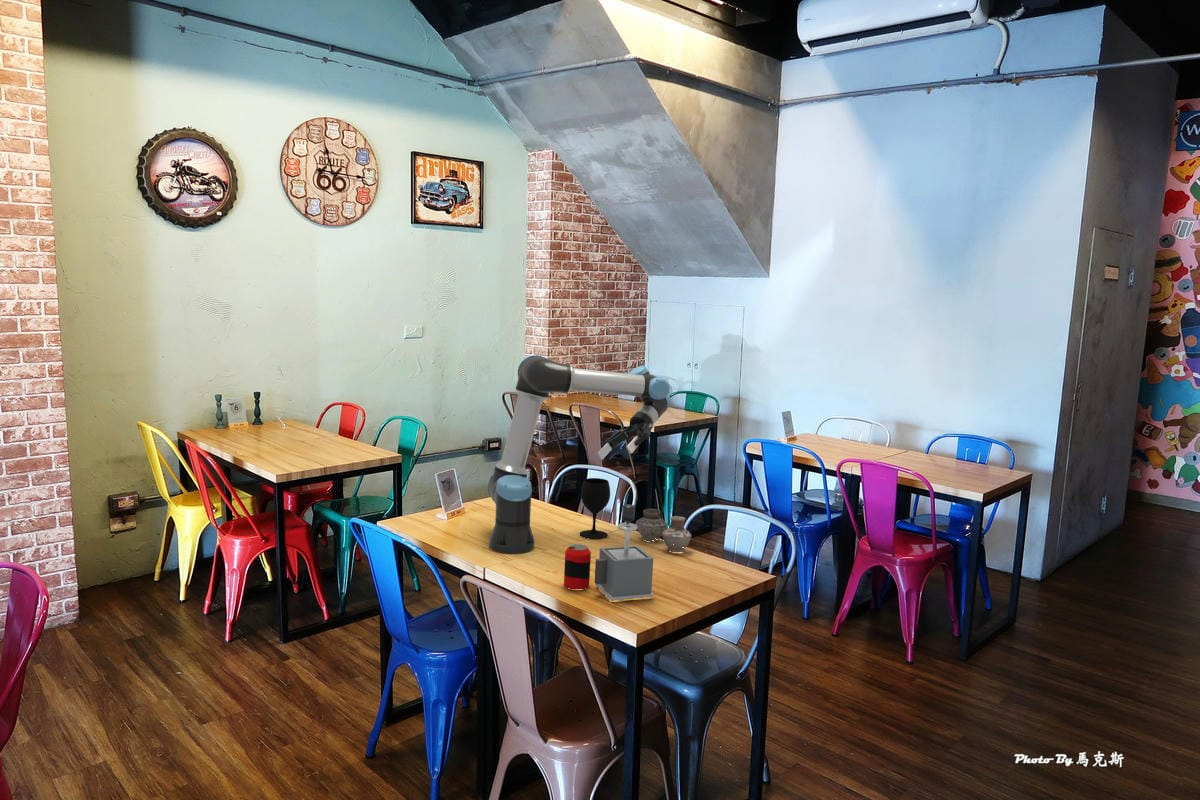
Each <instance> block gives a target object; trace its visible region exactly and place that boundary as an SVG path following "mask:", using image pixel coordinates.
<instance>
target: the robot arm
mask: <svg viewBox="0 0 1200 800" xmlns="http://www.w3.org/2000/svg"><path fill="white" fill-rule="evenodd" d="M517 377H518V379H517V382H516V386H515V392H516V394H517V400H516V403H515V407H514V411H513V415H512V419H511V423H510V427H509V430H508V434H507V438H506V442H505V444H504V450H503V454H502V455H501V456H502V457H501V461H499V462H498V463H496V464H495V466H494V470H493V473H492V474H491V476H490V477H489V480H488V482H487V483H488V484H487V491H488V495H489V497H490V498H491V500H492V501H493V502H494V504H495V519H494V520H495V521H494V527H493V529H492V532H491V535H490V538H489V549H490V550H492V551H494V552H496V553H497V552H498V553H503V554H509V555H510V554H513V555H514V554H515V555H516V554H525V553H528V552H531V551H532V550H534V549H535V538H534V534H533V530H532V527H531V512H532V511H531V509H532V508H531V506H532V493H533V488H532V482H531V481H530V479H528V474H529V472H528V470H527V468H526V463H527V462H528V461H527V460H528V456H529V453H530V449H531V446H532V443H533V442H532V441H533V438H534V433H535V430H536V427H537V422H538V418H539V415H540V411H541V408H542V404H543V402H544V401H545V400H547V399H548V398H549V394H550V393H561V394H562V393H563V394H569V393H570V392H571V391H573V392H574V391H575V392H584V393H598V394H607V395H619V396H620V395H621V396H630V397H639V399H640V401H641V403H642V406H640V407H639V409H637V411H636V412H635V414H633V415H632V417H630V420H629V425H628V426H627V427H626V428H624V427H621V428H620V429H619V430H618V431H617V432H615V433H614V434H613V435H611V436H609V438H607V439H605V440H604V441H603V442H602V445H603V447H602V448H601V449H600V450H599V451H598V452H597V455H598V457H599V458H600V460H602V461H603V460H604V459H605V457H607V455H608V454H609V453H610V452H612V450H613V448H614V447H615V446H617V445H619V444H620V443H623V441H625V440H626V441H627V440H630V439H631V438H633V439H632V440H631V441H630V442H629V443H628V444H627V446H626V449H627V451H628V453H629V454H633V453H634V451H635V450H637V448H638V447H639V446H640V444H641V443H642V442H645V440H647V441H649V439H650V438H651V432H652V429H653V428H654V427H653V426H654V425H655V424H656V423H657V421H658V420H659V419H660V417H662V415H663V414H664V413H665V412H666V411H667V410H668V408H669V407H670V405H671V402H672V401H671V400H672V399H671V397H670V395H669V393H670V384H669V382H668V381H667V380H666V379H665V378H663V377H662V376H657V375H654V374H651V373H650V371H649V370H648V368H647V367H646V366H645V365H639V366H637V367H635V368H634V369H632V370H631V371H630V372H628V373H624V372H614V371H605V370H596V369H595V370H594V369H586V368H585V369H584V368H578V367H577V368H576V367H573V366H572V365H571V364H566V363H560V362H557V361H554V360H551V359H550V358H546V357H545V356H542V355H539V354H538V355H537V354H533V355H528V356H527V357H525V358H523V360H521V362H520V364H519V365H518V368H517Z"/></svg>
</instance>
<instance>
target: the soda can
mask: <svg viewBox="0 0 1200 800" xmlns="http://www.w3.org/2000/svg"><path fill="white" fill-rule="evenodd" d="M564 551H565V552H564V571H563V573H564V575H563V586H564V587H566V588H565V589H567V588H570V589H585V588H587V589H589V587H590V577H591V561H592V560H591V559H592V558H591V555H592V552H591V550H590V549H589V547H588V546H587V545H585V544H581V543H577V544H570V545H569V546H568V547H567V548H566V549H565V550H564ZM585 590H586V589H585Z"/></svg>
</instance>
